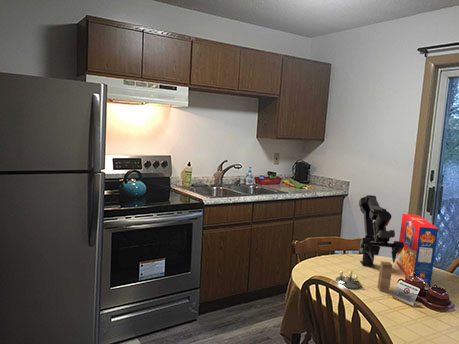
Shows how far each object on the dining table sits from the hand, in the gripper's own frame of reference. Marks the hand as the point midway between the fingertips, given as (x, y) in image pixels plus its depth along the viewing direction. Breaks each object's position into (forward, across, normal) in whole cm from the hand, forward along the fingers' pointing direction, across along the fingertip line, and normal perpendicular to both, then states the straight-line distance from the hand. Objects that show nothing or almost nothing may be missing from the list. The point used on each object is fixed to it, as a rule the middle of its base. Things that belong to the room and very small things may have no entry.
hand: (383, 261), depth 170 cm
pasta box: (-6, +20, +23) cm, 31 cm away
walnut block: (+12, 0, +5) cm, 13 cm away
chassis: (+10, -15, +6) cm, 19 cm away
